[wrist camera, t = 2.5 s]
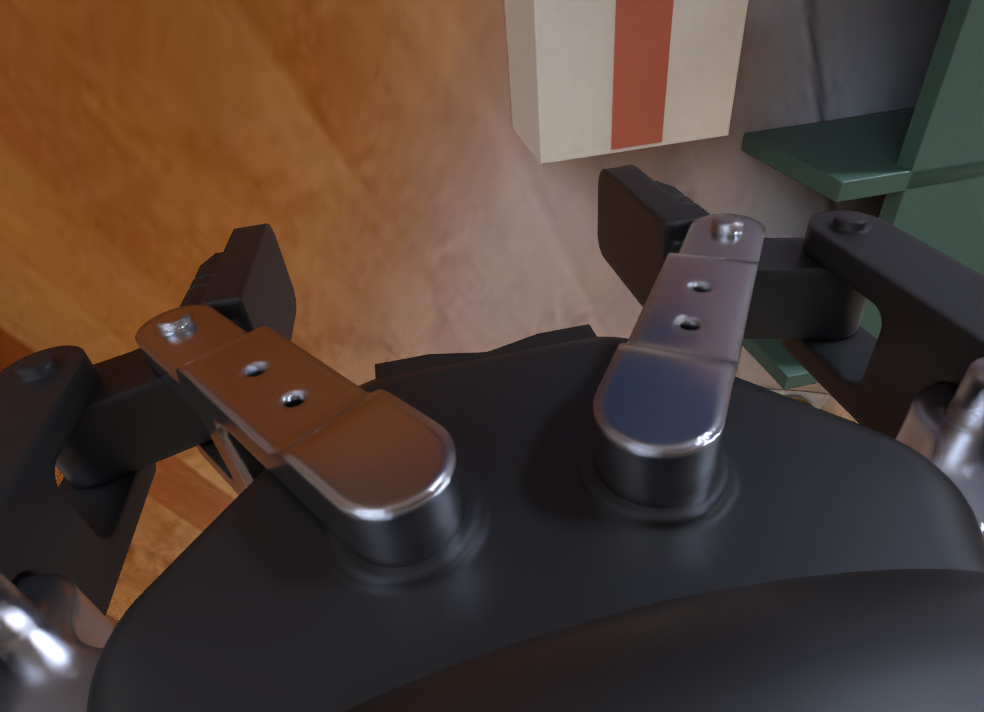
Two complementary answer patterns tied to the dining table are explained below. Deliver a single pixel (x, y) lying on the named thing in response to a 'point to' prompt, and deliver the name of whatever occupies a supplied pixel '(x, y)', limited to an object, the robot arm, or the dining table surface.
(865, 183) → the cabinet
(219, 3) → the dining table surface
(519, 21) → the carton
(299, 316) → the dining table surface
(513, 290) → the dining table surface
